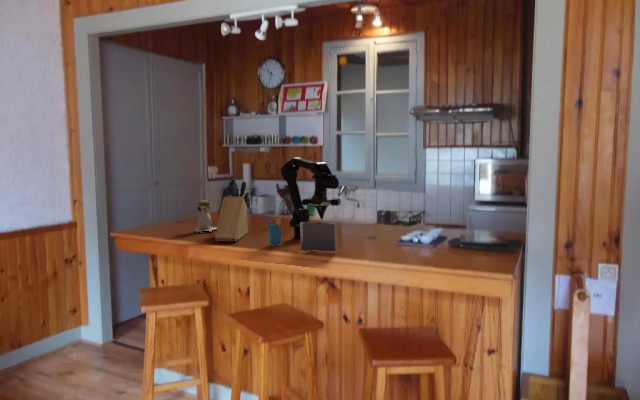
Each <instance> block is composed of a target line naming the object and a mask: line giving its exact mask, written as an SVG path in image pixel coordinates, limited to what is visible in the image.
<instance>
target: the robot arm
mask: <svg viewBox="0 0 640 400" xmlns="http://www.w3.org/2000/svg"><path fill="white" fill-rule="evenodd" d="M300 168H303V169H306V170H308V171H310V173H312V174H313V175H312V176H311V179H313V180H314V190H313V191H314V192H313V195H312V196H311V197H306V198H303V199H302V197H301V195H300V191H299V186H298V181H297V178H298V171H299V170H300ZM280 174H281V176H282V179H283V180H284V181H285V182H286V183H287V188H288V191H289V196H290V198H291V199H290V200H291V203H292V206H293V209H292V214H291V215H292V218H291V219H290V221H289V227H290V228H293V236H292V239H296V240H297V239H300V240H301V238H300V223H301V222H304V223H305V222H308V223H310V222H309V221H310V213H309V209H308V208H307V207H306V208H305V207H304V206H309V204H310V205H311V204H312V207H313V208H315V209H316V211H317V213H318V216H319V219H320V220H324V217H325V214H326V211H327V209H328V207H330V205H331V206H340V205H341V202H342V201H341V199H340V198H339V197H338V198H336V197H335V198H331V199H328V194H327V192H328V189H330V190H336V189H338V187H339V184H340V181H339V178H338V177H336V174H333V173H332V171H331V170H330V168H329V165H328V163H327V162H326V161H311V160H308V159H304V158H302V157H299V156H298V157H297V156H295V157H292V158H291V159H290V160H288V161H287V162H286V163H284V164H283V165H282V166H281V167H280Z"/></svg>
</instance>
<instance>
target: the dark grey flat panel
mask: <svg viewBox="0 0 640 400" xmlns="http://www.w3.org/2000/svg"><path fill="white" fill-rule="evenodd" d="M300 238H301V239H300V249H301V250H309V251H311V250H318V251H317V252H337V223H334V222H305V223H304V222H301V223H300Z"/></svg>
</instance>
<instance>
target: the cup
mask: <svg viewBox="0 0 640 400" xmlns="http://www.w3.org/2000/svg"><path fill="white" fill-rule="evenodd" d="M261 216H262V217H263V218H264V217H267V220H268V223H266V227H267V233H268V240H269V245H270V244H272V245H277V244H280V243H281V244H282V229H283V228H282V227H283V223H282V219H281V218H280V217H277V218H275V221H274V222H271V218H270V215H269V214H263V215H261Z"/></svg>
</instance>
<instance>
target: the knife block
mask: <svg viewBox="0 0 640 400" xmlns="http://www.w3.org/2000/svg"><path fill="white" fill-rule="evenodd" d="M237 186H238V184H237V182H236V178H232V179H230V181H229V183H228V186H227V192H226V193H227V194H226V196H224V197H223V199H222V204H221V210H220V214H219V218H218V222H217V225H216V228H217V231H215V235H214V236H215V237H214V239H215V241H216V242H218V241H221V242H233V241H236V242H238V241H239V240H240V239H242V238H243V237H244V236H246V235H247V234H248V232H249V226H248V225H249V224H248V221H249V219H248V213H249V209H250V205H251V202H250V201H249V195H250V192H248V191H246V188H247V182H246V181H242V183H241V185H240V190H239V193H237ZM241 237H242V238H241ZM238 239H239V240H238ZM237 240H238V241H237Z"/></svg>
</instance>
